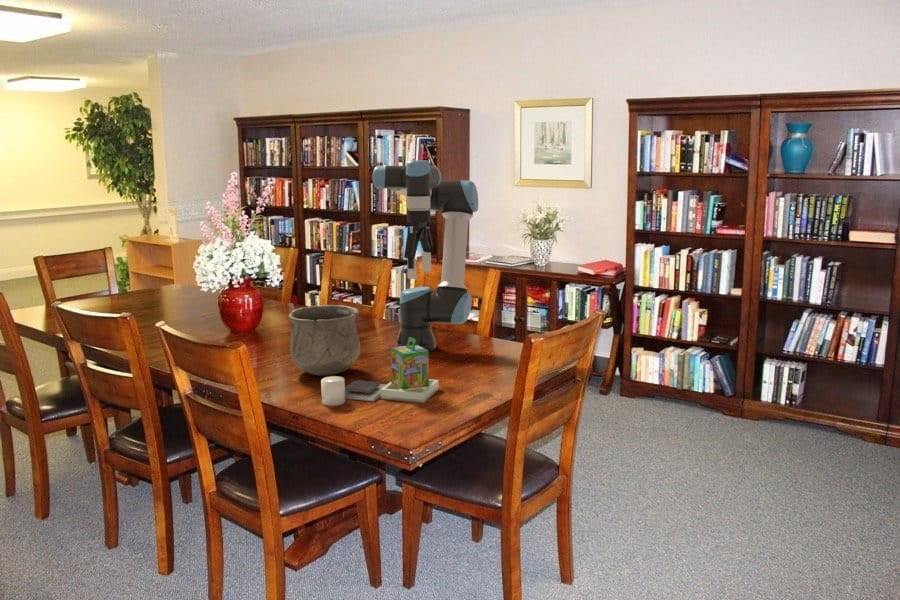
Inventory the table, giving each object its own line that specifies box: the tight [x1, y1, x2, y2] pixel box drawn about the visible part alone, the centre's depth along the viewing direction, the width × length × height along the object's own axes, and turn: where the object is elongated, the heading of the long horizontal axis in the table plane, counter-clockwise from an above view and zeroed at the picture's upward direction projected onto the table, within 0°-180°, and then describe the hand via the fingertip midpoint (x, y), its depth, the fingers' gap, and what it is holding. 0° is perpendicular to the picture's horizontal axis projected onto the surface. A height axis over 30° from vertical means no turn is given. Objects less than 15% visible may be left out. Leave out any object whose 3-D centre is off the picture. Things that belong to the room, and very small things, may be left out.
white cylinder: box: [320, 375, 346, 407], centre depth 233 cm, size 7×7×7 cm
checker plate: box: [346, 379, 381, 393], centre depth 242 cm, size 8×8×1 cm
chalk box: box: [390, 337, 430, 390], centre depth 239 cm, size 9×9×15 cm
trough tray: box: [380, 378, 440, 404], centre depth 241 cm, size 14×14×3 cm
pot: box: [288, 304, 361, 377], centre depth 261 cm, size 25×24×21 cm
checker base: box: [345, 380, 387, 402], centre depth 242 cm, size 13×13×2 cm
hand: (419, 275), depth 250 cm, fingers open, 13 cm apart
